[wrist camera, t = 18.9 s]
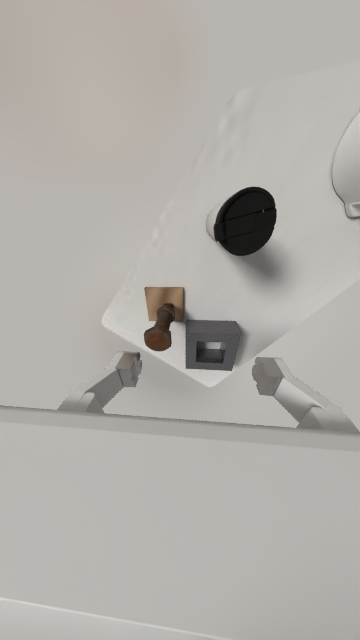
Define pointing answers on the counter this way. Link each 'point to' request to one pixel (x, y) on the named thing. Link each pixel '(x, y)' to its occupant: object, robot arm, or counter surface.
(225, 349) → the socket block
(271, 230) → the travel mug
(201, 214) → the counter surface
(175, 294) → the walnut pad
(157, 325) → the bolt
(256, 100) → the counter surface
